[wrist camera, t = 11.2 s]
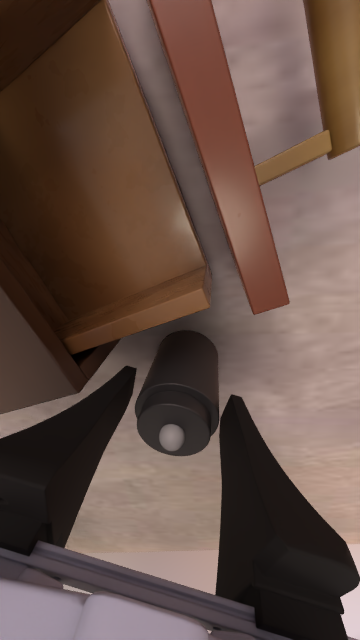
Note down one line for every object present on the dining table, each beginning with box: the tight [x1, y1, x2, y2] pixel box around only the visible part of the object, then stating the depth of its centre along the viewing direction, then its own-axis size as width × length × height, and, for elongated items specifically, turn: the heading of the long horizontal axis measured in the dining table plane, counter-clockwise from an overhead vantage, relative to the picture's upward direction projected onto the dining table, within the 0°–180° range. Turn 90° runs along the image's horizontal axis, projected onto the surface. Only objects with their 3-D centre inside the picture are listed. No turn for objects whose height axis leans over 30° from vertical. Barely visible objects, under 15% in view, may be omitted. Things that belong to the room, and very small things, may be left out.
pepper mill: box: [135, 331, 219, 456], centre depth 13 cm, size 4×4×7 cm
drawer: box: [0, 0, 360, 355], centre depth 9 cm, size 16×13×5 cm
